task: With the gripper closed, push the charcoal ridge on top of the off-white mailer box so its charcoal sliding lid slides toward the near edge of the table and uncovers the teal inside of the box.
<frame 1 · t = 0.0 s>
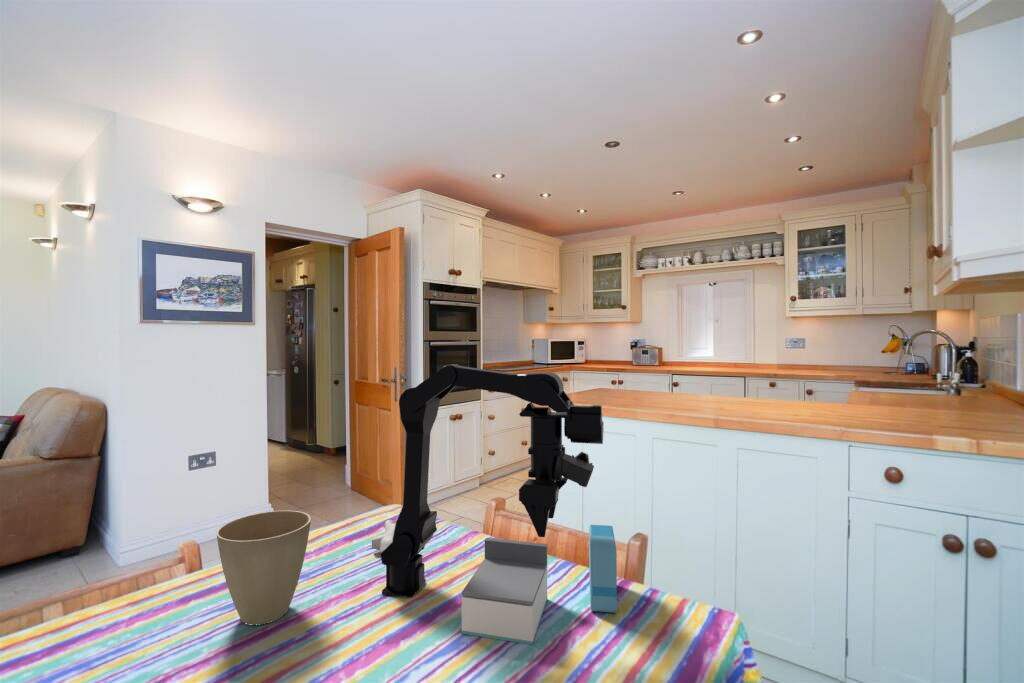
hand: (546, 526, 86), 15 cm above the table, tool pointing down, fingers open, 9 cm apart
bunny figurine: (395, 548, 112), on the table
mailer box: (507, 615, 84), on the table
lid: (507, 568, 84), point 8 cm above the table, slide at 0.0 cm
data package: (602, 598, 89), on the table
plant pot: (265, 614, 84), on the table
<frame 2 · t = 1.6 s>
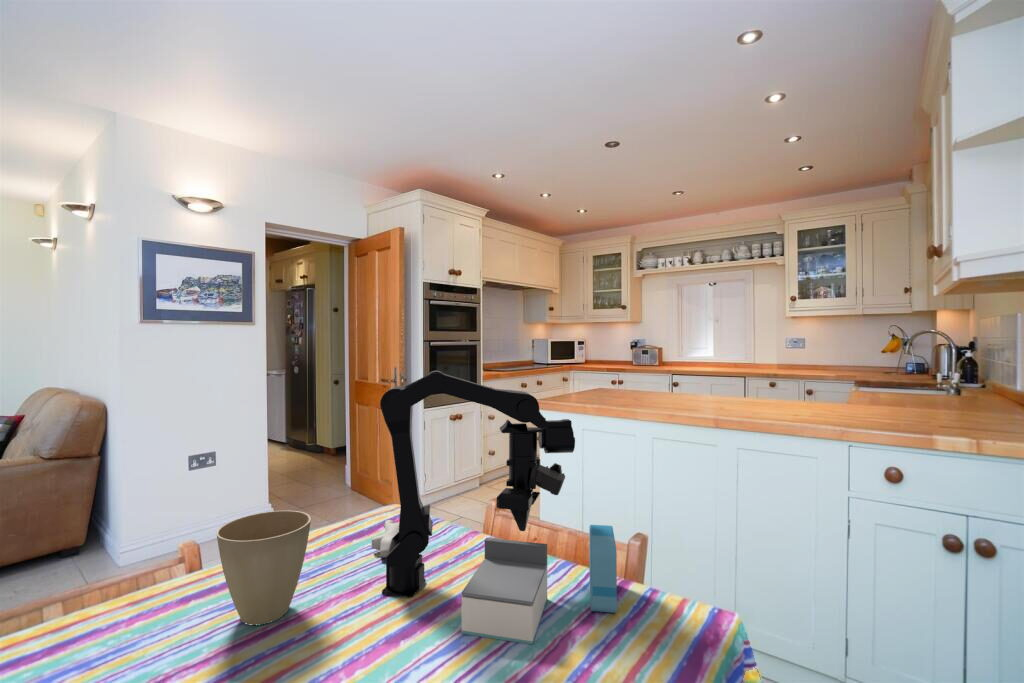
hand: (522, 530, 96), 10 cm above the table, tool pointing down, fingers closed
nothing on the table moved.
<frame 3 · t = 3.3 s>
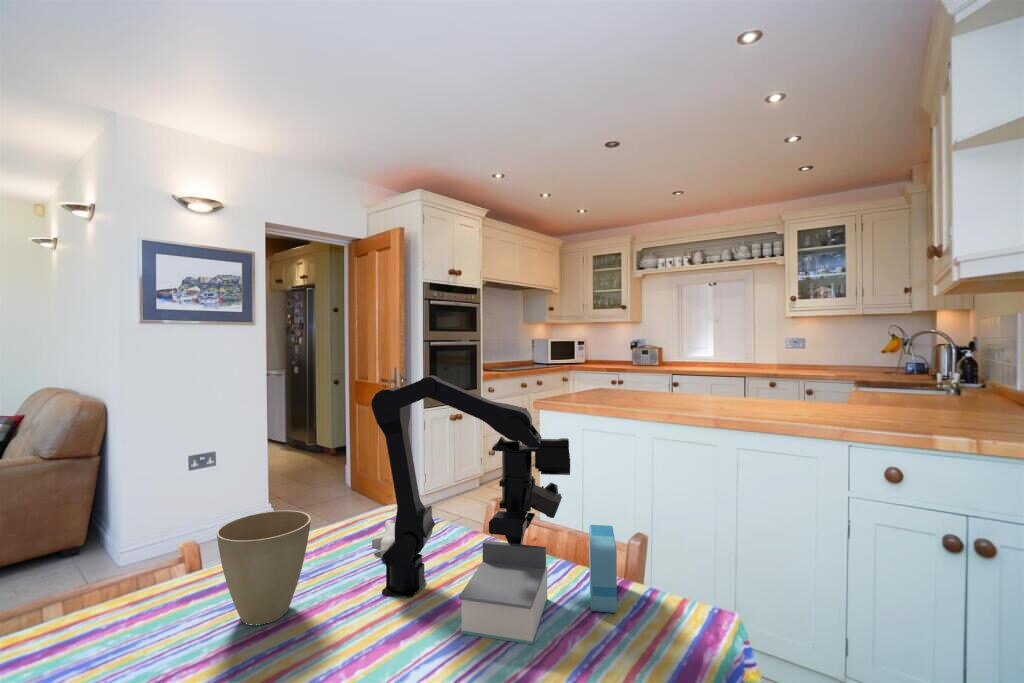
hand: (516, 554, 91), 7 cm above the table, tool pointing down, fingers closed
lid: (505, 571, 82), point 8 cm above the table, slide at 1.3 cm, touching gripper
everything else where it was.
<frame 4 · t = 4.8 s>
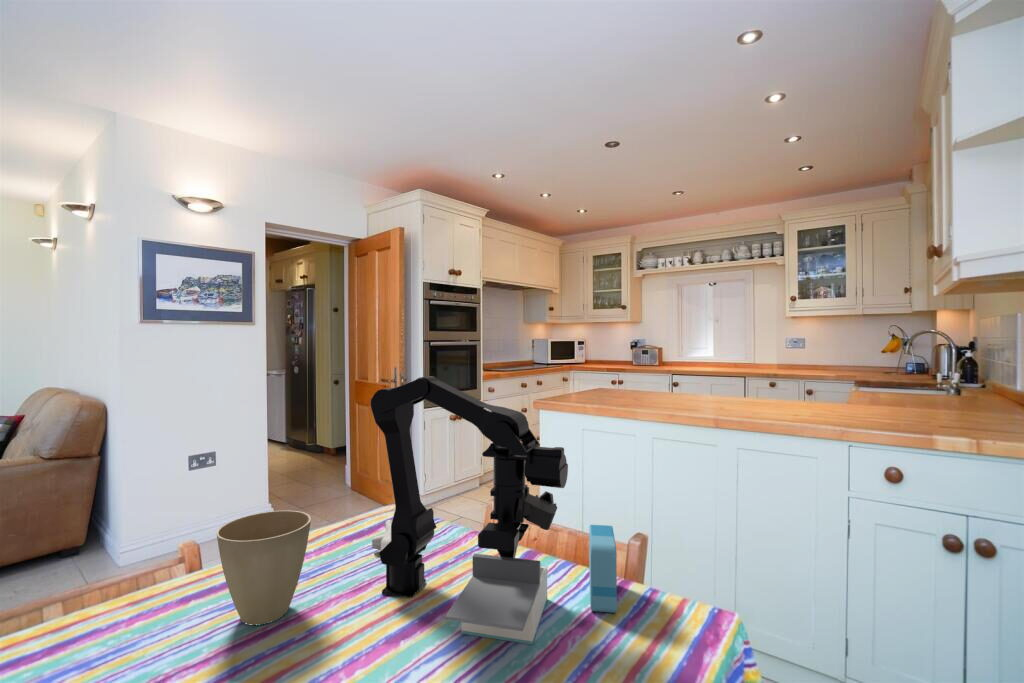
hand: (509, 568, 85), 8 cm above the table, tool pointing down, fingers closed
lid: (496, 588, 77), point 8 cm above the table, slide at 7.2 cm, touching gripper
everything else where it was.
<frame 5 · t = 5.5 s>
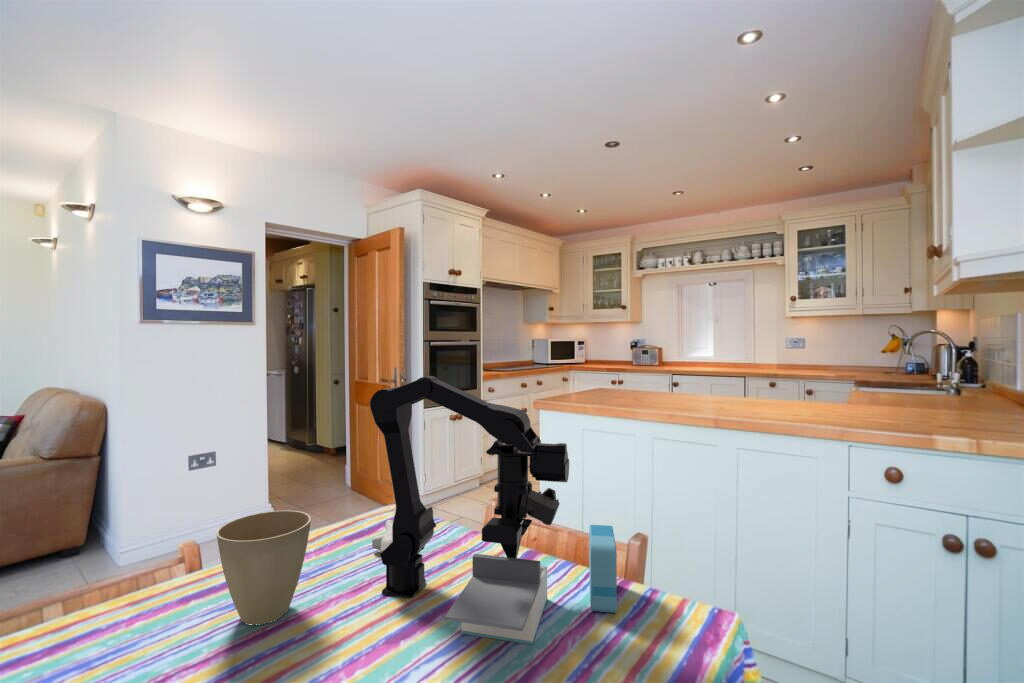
hand: (512, 562, 87), 7 cm above the table, tool pointing down, fingers closed
lid: (496, 588, 77), point 8 cm above the table, slide at 7.2 cm
everything else where it was.
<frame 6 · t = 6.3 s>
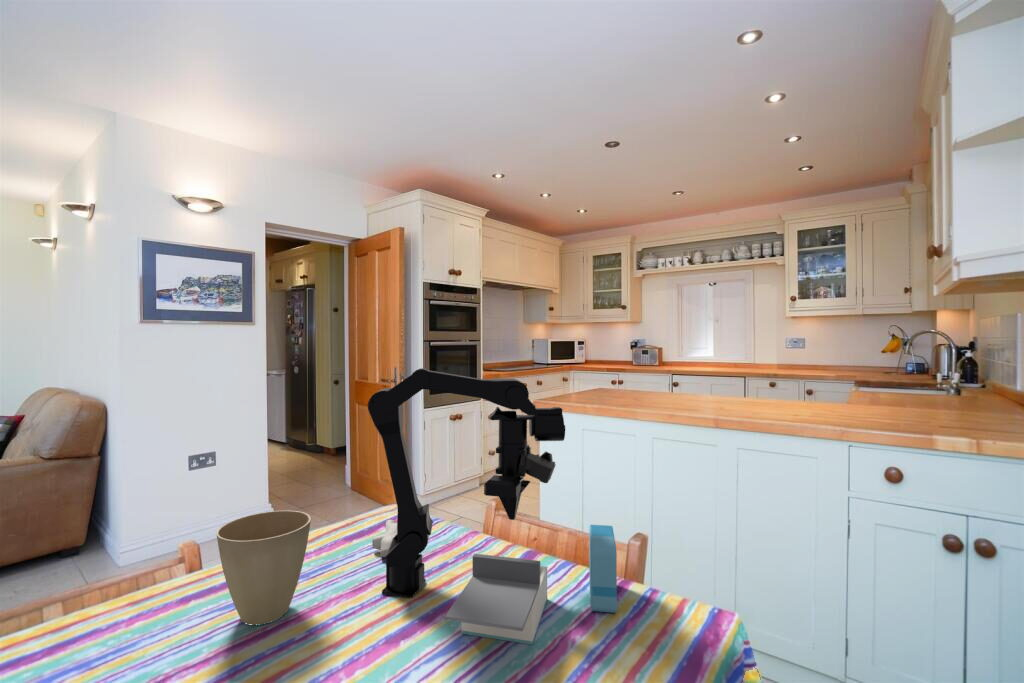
hand: (512, 519, 95), 13 cm above the table, tool pointing down, fingers closed
nothing on the table moved.
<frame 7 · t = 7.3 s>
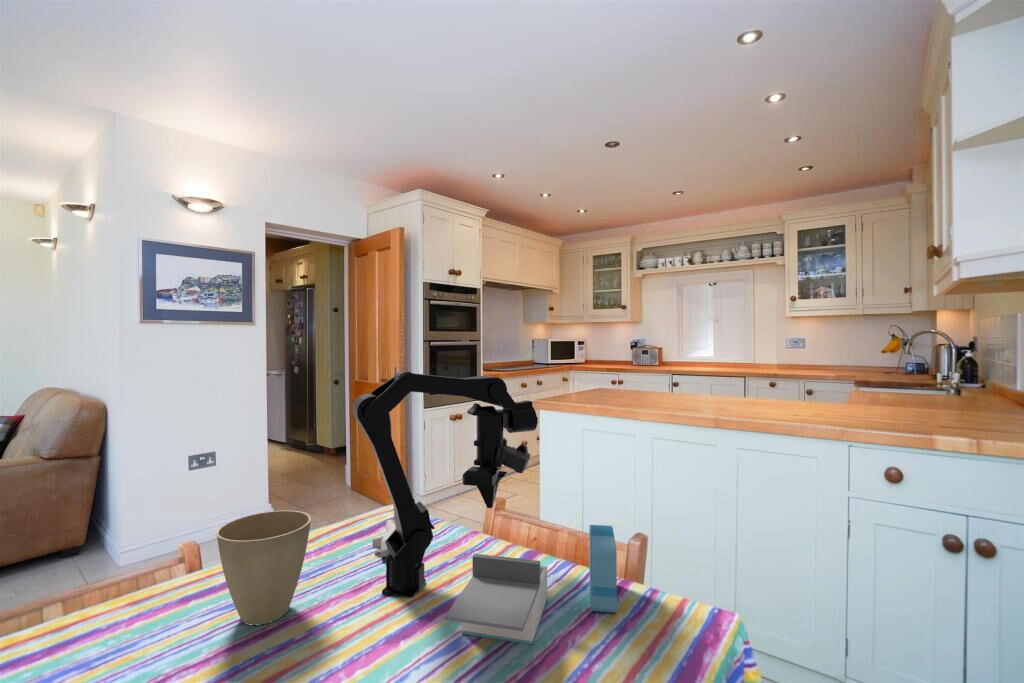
hand: (490, 507, 101), 13 cm above the table, tool pointing down, fingers closed
nothing on the table moved.
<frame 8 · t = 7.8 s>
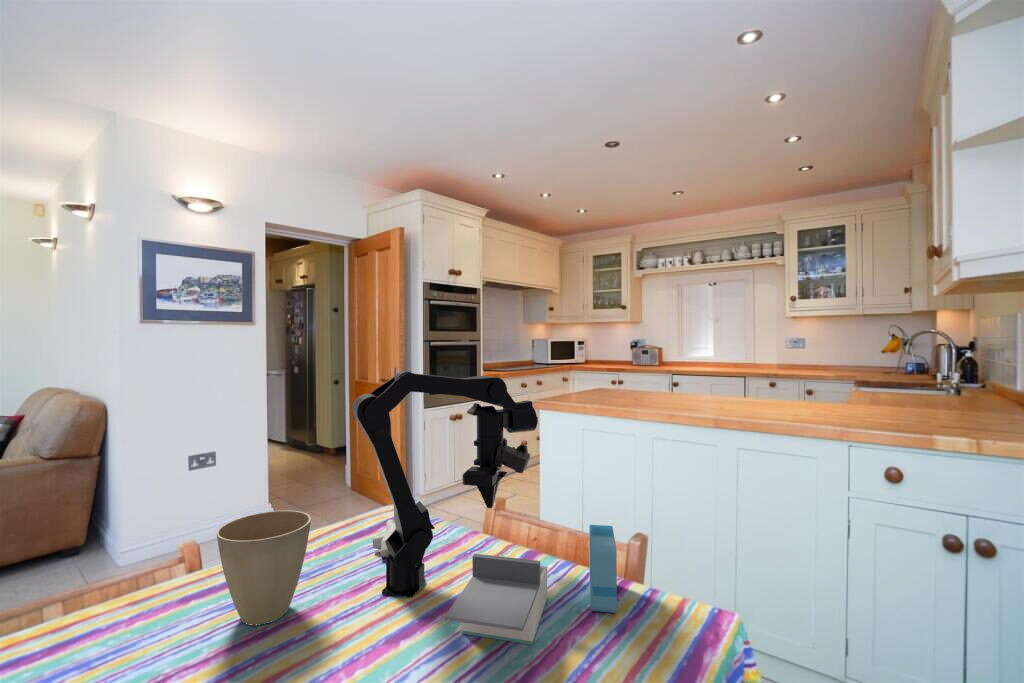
hand: (490, 507, 101), 13 cm above the table, tool pointing down, fingers closed
nothing on the table moved.
at the end: lid slide at 7.2 cm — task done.
